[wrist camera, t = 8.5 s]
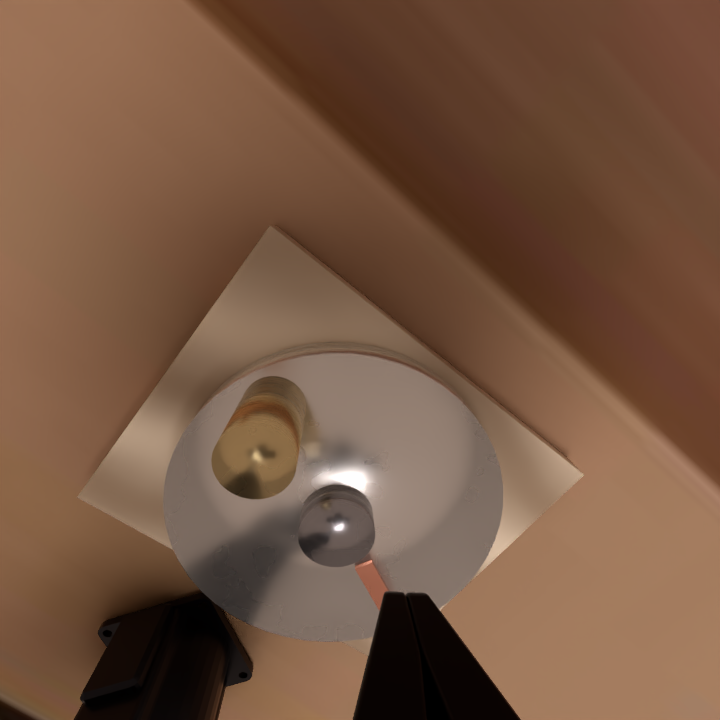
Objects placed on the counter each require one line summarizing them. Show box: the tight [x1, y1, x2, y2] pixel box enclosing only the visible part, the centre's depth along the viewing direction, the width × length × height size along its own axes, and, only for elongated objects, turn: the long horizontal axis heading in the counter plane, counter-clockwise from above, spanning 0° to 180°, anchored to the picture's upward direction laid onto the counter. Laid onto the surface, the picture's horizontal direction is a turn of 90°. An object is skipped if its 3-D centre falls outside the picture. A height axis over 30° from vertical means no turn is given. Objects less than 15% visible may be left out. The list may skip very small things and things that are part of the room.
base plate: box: [77, 225, 584, 656], centre depth 20 cm, size 15×18×2 cm
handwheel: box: [163, 342, 503, 642], centre depth 16 cm, size 14×14×6 cm
